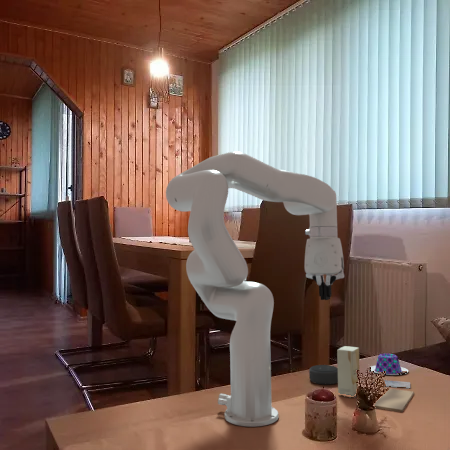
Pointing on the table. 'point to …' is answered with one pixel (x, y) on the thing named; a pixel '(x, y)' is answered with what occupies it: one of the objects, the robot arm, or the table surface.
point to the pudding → (388, 364)
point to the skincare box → (347, 369)
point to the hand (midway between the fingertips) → (325, 299)
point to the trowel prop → (396, 384)
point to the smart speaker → (323, 374)
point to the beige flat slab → (394, 400)
